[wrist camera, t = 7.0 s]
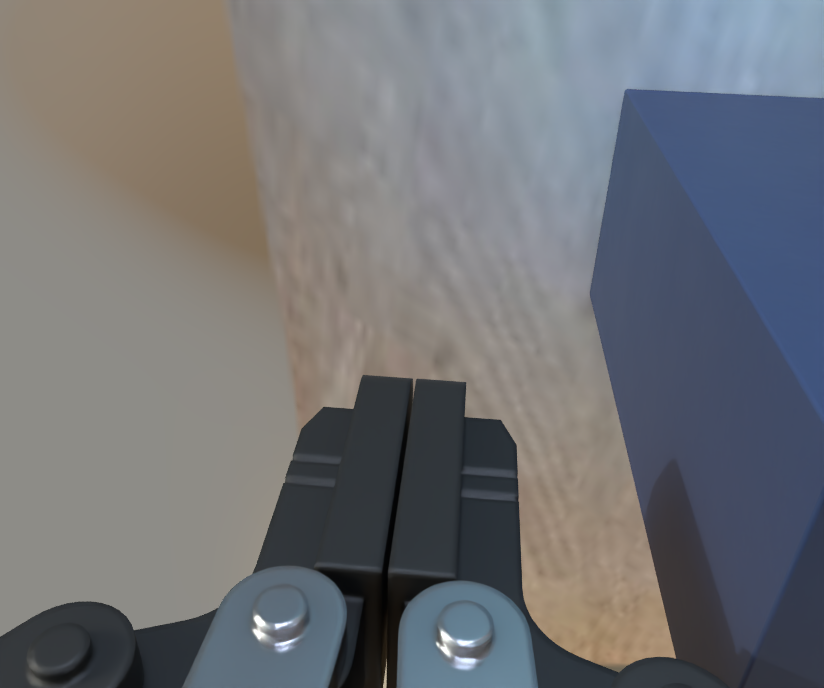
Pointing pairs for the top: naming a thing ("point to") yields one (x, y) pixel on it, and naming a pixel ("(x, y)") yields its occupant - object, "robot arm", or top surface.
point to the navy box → (723, 369)
